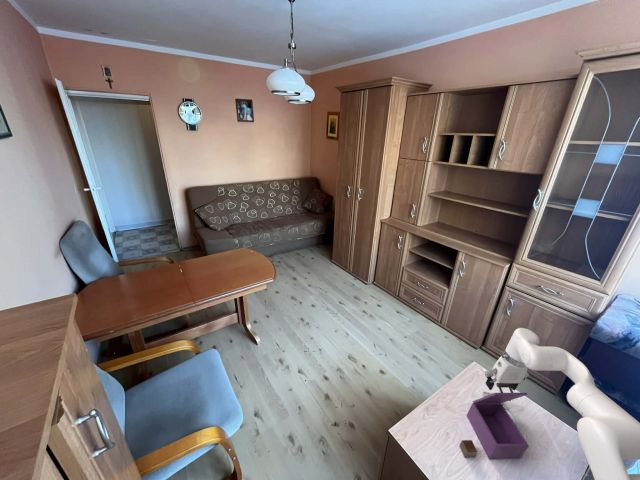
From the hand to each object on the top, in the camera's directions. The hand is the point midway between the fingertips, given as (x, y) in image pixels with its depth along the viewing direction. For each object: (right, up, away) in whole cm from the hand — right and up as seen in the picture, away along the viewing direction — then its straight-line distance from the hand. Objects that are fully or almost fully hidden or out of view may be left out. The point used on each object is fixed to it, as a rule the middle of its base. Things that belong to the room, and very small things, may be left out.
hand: (499, 386), depth 107 cm
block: (-10, -31, +6) cm, 34 cm away
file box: (+5, -29, +12) cm, 32 cm away
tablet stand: (+15, -23, +26) cm, 38 cm away
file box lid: (+5, -10, +8) cm, 14 cm away
